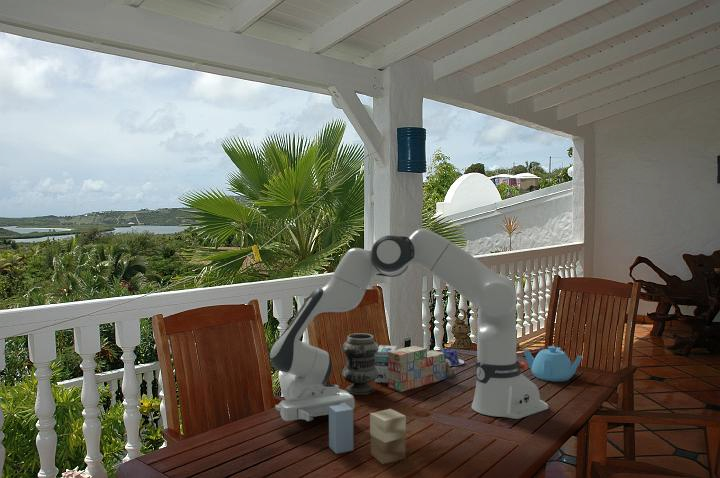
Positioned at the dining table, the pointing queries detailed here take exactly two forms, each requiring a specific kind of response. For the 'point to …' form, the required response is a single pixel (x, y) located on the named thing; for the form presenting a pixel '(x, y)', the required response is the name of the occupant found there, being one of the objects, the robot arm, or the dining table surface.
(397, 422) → the tower top
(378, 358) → the light bulb box
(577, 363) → the teapot
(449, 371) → the eagle figurine
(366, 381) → the apothecary jar
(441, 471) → the dining table surface
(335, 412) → the pillar
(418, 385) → the stack of blocks
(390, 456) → the tower base
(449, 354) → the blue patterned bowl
